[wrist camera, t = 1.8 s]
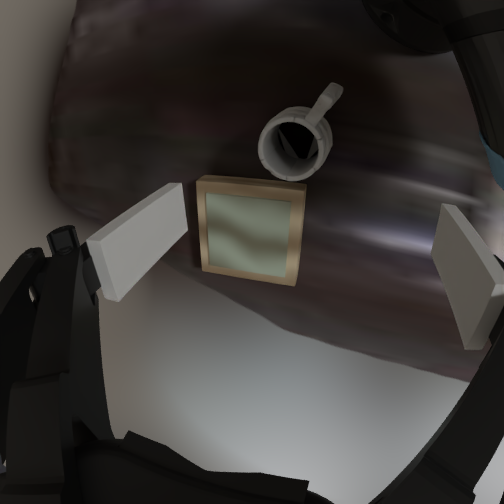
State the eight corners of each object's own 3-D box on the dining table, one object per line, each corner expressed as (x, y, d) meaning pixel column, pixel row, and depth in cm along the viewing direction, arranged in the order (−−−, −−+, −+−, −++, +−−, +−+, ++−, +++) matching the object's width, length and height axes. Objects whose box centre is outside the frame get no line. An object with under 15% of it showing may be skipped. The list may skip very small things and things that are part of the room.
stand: (205, 174, 42) (194, 181, 39) (306, 184, 38) (303, 192, 36) (209, 260, 49) (201, 272, 46) (297, 274, 46) (294, 288, 43)
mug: (259, 142, 37) (228, 163, 27) (311, 67, 31) (300, 55, 21) (309, 177, 38) (297, 211, 28) (364, 105, 32) (377, 109, 22)
